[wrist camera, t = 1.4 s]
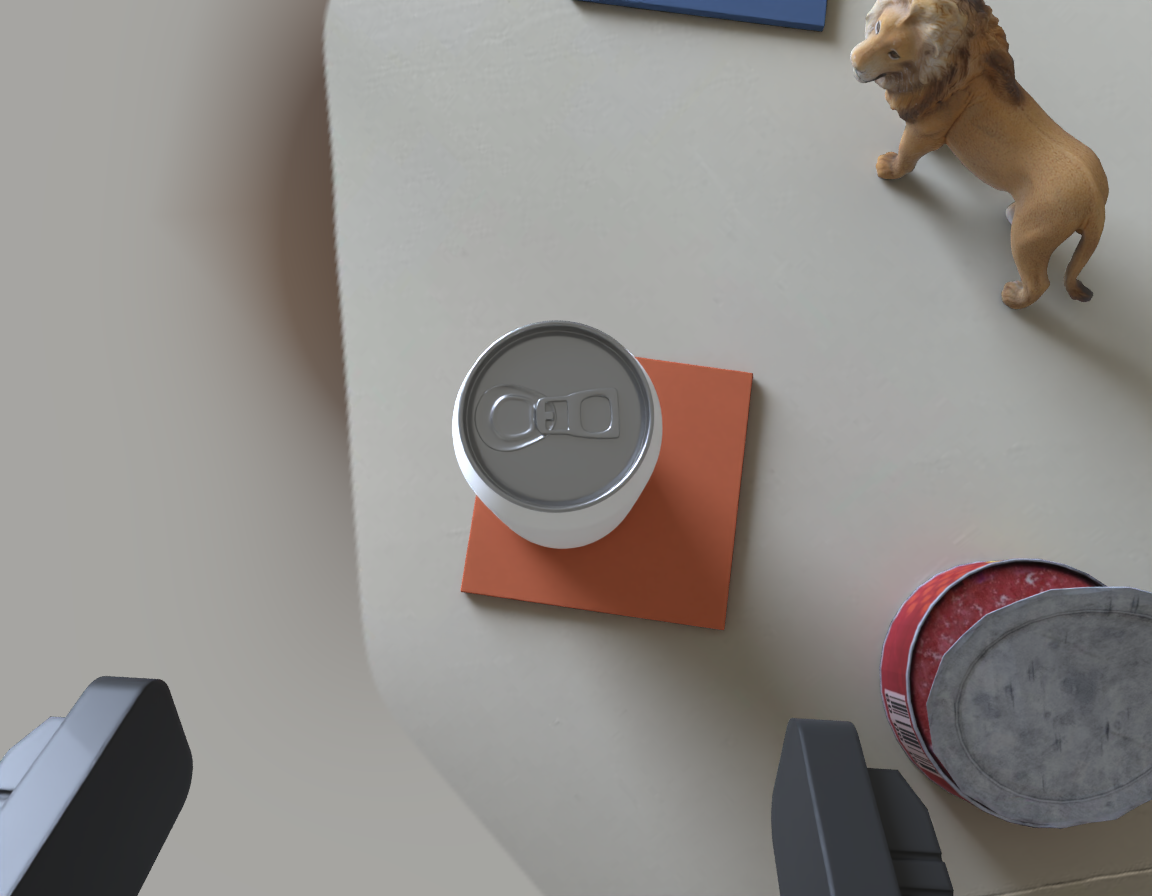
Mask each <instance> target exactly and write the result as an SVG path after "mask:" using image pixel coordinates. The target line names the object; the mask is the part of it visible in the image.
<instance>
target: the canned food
mask: <svg viewBox="0 0 1152 896" xmlns="http://www.w3.org/2000/svg"><path fill="white" fill-rule="evenodd" d="M880 687H881V696H882V700H883V704H884V708H885V713H886V717H887V719H888V721H889V724H890V726H891V728H892V730H893V733H894V735H895V737H896V739H897V741H898V743H899V744H900V745H901V747H902V748H903V750H904V751H905V753H906V754H907V756H908V757H909V759H910V760H911V761H912V762H913V763H914V764H915V765H916V766H917V767H918V768H919V769H920V770H921V771H922V772H923V773H924V774H925V775H926V776H927V777H928V778H929V779H930V780H931V781H933V782H934V783H936V784H937V785H939V786H940V787H941V788H943V789H944V790H946V791H947V792H949V793H950V794H953V795H955V796H957V797H959V798H962V799H964V800H965V801H967V802H969V803H971V804H973V805H975V806H976V807H978V808H979V809H981V810H982V811H984V812H986V813H989V814H991V815H993V816H996V817H998V818H1000V819H1002V820H1005V821H1007V822H1011V823H1015V824H1020V825H1024V826H1029V827H1033V828H1059V829H1062V828H1066V827H1071V826H1076V825H1081V824H1085V823H1092V822H1100V821H1107V820H1115V819H1117V818H1119V817H1121V816H1122V815H1124V814H1126V813H1127V812H1129V811H1131V810H1132V809H1134V808H1136V807H1137V806H1139V805H1141V804H1143V803H1145V802H1147V801H1150V800H1152V593H1151V592H1147V591H1143V590H1140V589H1136V588H1132V587H1107V586H1106V585H1104V584H1103V583H1101V582H1100V581H1098V580H1097V579H1095V578H1094V577H1092V576H1090V575H1089V574H1087V573H1084V572H1082V571H1080V570H1077V569H1075V568H1072V567H1070V566H1068V565H1065V564H1061V563H1057V562H1052V561H1047V560H1042V559H1009V560H1003V561H979V562H974V563H969V564H964V565H958V566H956V567H953V568H951V569H948V570H946V571H944V572H941V573H939V574H937V575H935V576H934V577H932V578H931V579H929V580H928V581H927V582H925V583H924V584H922V585H921V586H919V587H918V588H917V589H916V590H915V591H914V592H913V593H912V594H911V595H910V597H909V598H908V599H907V600H906V601H905V602H904V603H903V604H902V606H901V607H900V609H899V611H898V612H897V614H896V616H895V617H894V619H893V621H892V622H891V624H890V627H889V630H888V633H887V636H886V638H885V641H884V644H883V649H882V656H881V663H880Z"/></svg>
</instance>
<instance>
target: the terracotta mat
mask: <svg viewBox="0 0 1152 896" xmlns="http://www.w3.org/2000/svg"><path fill="white" fill-rule="evenodd" d="M635 358H636V359H637V360H638V361H639V363H640V364H641V365H642V367H643V368H644V369H645V371H646V372H647V374H648V376H649V377H650V379H651V381H652V383H653V385H654V388H655V390H656V393H657V396H658V399H659V403H660V408H661V414H662V442H661V448H660V452H659V456H658V459H657V462H656V465H655V468H654V470H653V473H652V475H651V477H650V479H649V481H648V482H647V484H646V486H645V488H644V489H643V491H642V493H641V494H640V496H639V498H638V499H637V501H636V502H635V504H634V505H633V507H632V509H631V510H630V512H629V513H628V514H627V516H626V517H625V518H624V520H623V521H622V522H621V523H620V524H619V525H618V526H617V527H616V528H615V529H614V530H613V531H611V532H610V533H609V534H607V535H606V536H604V537H603V538H601V539H599V540H597V541H595V542H593V543H591V544H588V545H585V546H581V547H576V548H568V549H557V548H549V547H544V546H541V545H538V544H535V543H532V542H530V541H528V540H526V539H524V538H523V537H521V536H519V535H518V534H516V533H515V532H514V531H513V530H511V529H510V528H509V527H508V526H507V525H506V524H504V523H503V522H502V521H501V520H500V519H499V518H498V517H497V516H496V515H495V514H494V513H493V512H492V511H491V510H490V509H489V508H488V507H487V506H486V505H485V504H484V503H483V502H482V501H481V500H480V498H479V497H478V496H477V495H476V500H475V506H474V512H473V518H472V524H471V530H470V536H469V542H468V549H467V555H466V561H465V567H464V573H463V579H462V585H461V592H466V593H473V594H480V595H487V596H493V597H500V598H507V599H514V600H521V601H528V602H534V603H541V604H548V605H555V606H562V607H568V608H575V609H582V610H589V611H596V612H603V613H609V614H616V615H623V616H630V617H637V618H644V619H650V620H657V621H664V622H671V623H678V624H685V625H691V626H698V627H705V628H712V629H719V630H724V628H725V619H726V610H727V601H728V592H729V583H730V575H731V566H732V557H733V548H734V539H735V530H736V521H737V512H738V503H739V494H740V485H741V476H742V467H743V458H744V450H745V441H746V432H747V423H748V414H749V405H750V396H751V387H752V378H753V373H747V372H740V371H733V370H726V369H718V368H711V367H704V366H697V365H690V364H682V363H675V362H668V361H661V360H653V359H646V358H639V357H635Z"/></svg>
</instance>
